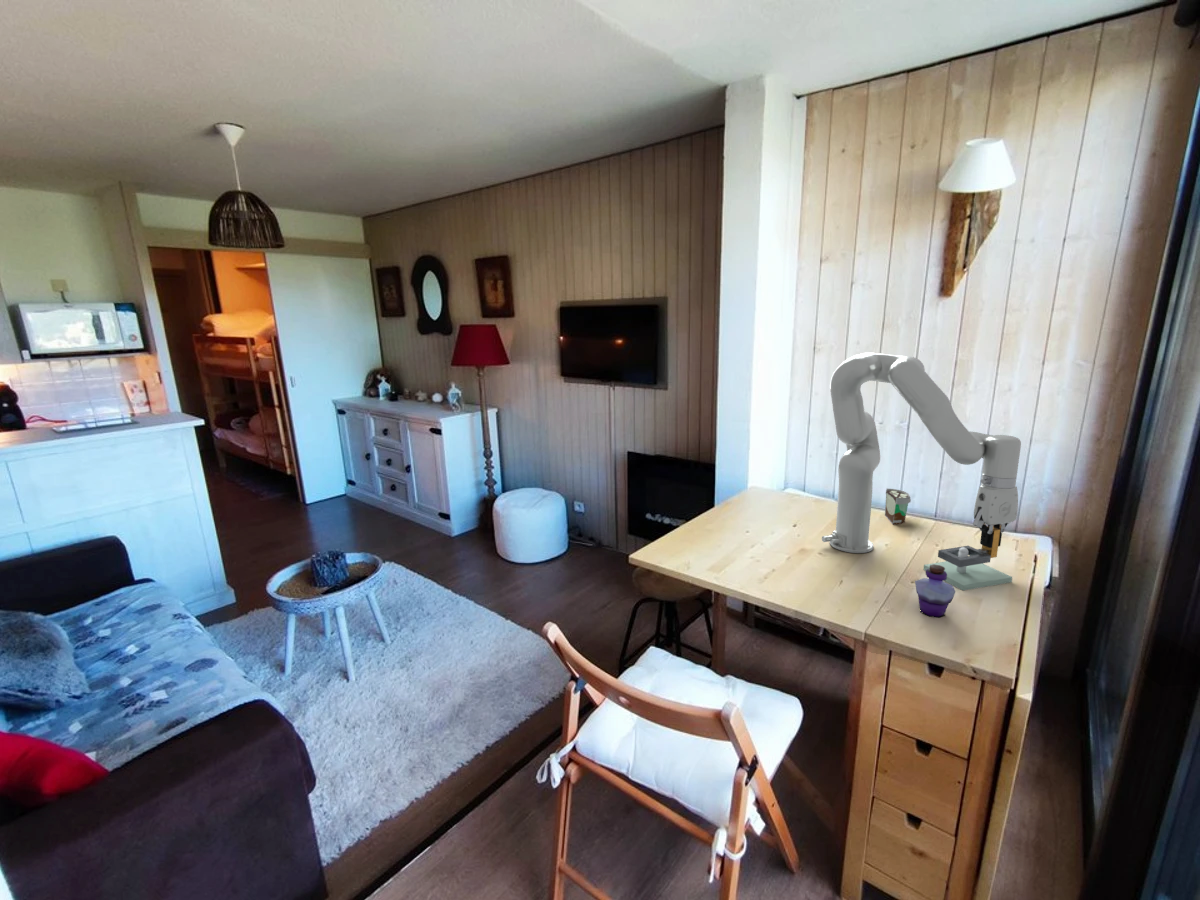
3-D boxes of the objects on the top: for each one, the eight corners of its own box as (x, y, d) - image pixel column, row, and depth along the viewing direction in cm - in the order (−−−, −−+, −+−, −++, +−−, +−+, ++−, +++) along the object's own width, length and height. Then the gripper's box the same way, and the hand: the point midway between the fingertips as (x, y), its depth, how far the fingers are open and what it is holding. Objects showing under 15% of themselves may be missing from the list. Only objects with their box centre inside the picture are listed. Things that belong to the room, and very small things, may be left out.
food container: (913, 527, 187) (916, 499, 185) (894, 526, 189) (896, 498, 186) (901, 514, 199) (904, 488, 197) (883, 514, 200) (886, 487, 198)
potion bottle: (937, 602, 138) (943, 558, 136) (960, 620, 130) (967, 573, 127) (904, 603, 138) (909, 559, 136) (925, 622, 130) (930, 575, 127)
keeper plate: (962, 590, 144) (966, 560, 142) (923, 569, 156) (926, 541, 154) (1011, 582, 147) (1016, 552, 145) (969, 562, 160) (973, 534, 158)
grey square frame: (959, 567, 146) (962, 539, 144) (937, 556, 152) (940, 529, 150) (1003, 560, 149) (1007, 532, 147) (980, 550, 155) (983, 523, 154)
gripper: (986, 488, 142) (978, 554, 146) (1035, 482, 145) (1026, 546, 149) (961, 480, 149) (954, 543, 153) (1008, 474, 152) (1000, 536, 157)
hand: (990, 544), depth 151 cm, fingers closed on grey square frame
